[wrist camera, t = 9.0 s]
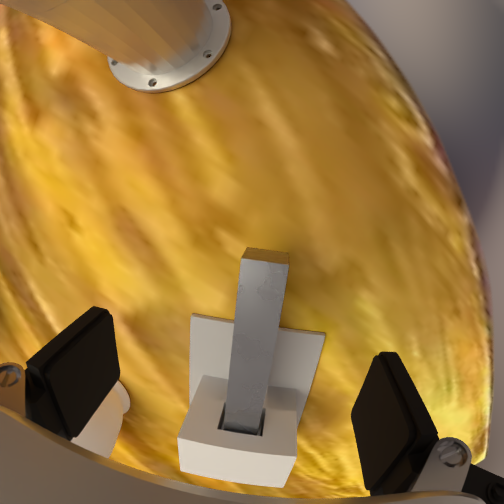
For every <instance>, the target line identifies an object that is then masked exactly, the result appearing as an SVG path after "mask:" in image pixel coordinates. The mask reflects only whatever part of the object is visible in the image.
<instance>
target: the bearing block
mask: <svg viewBox="0 0 504 504" xmlns="http://www.w3.org/2000/svg"><path fill="white" fill-rule="evenodd" d="M233 330H234V321H233V320H227V319H222V318H216V317H210V316H204V315H199V314H194V313H192V315H191V326H190V408H189V410H188V413H187V415H186V417H185V420H184V422H183V425H182V427H181V430H180V432H179V434H178V437H177V440H178V451H179V461H180V470H181V471H183V472H187V473H191V474H195V475H200V476H204V477H209V478H214V479H219V480H225V481H231V482H237V483H244V484H251V485H260V486H269V487H281V488H283V487H284V485H285V483H286V480H287V478H288V476H289V474H290V471H291V469H292V467H293V465H294V462H295V460H296V458H297V427H298V424H299V421H300V418H301V415H302V412H303V409H304V406H305V403H306V400H307V397H308V394H309V391H310V388H311V384H312V381H313V378H314V374H315V371H316V367H317V364H318V361H319V357H320V353H321V350H322V346H323V342H324V339H325V333H322V332H313V331H304V330H296V329H288V328H280V327H278V333H277V338H276V344H275V349H274V354H273V360H272V365H271V370H270V375H269V380H268V385H267V390H266V395H265V399H264V404H263V409H262V414H261V418H260V423H259V427H258V432H257V436H255V435H248V434H242V433H235V432H230V431H224V430H223V428H224V418H225V407H226V397H227V387H228V378H229V368H230V358H231V348H232V339H233Z"/></svg>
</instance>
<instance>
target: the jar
mask: <svg viewBox="0 0 504 504" xmlns="http://www.w3.org/2000/svg"><path fill="white" fill-rule="evenodd" d="M129 408H130V398H129V395H128V393H127V391H126V389H125V388H124V386H123V385H122V384H121V383H120V382H119V381H117V382H116V384H115V385H114V387H113V388H112V389H111V391H110V392H109V394H108V395H107V396H106V398H105V399H104V400H103V402H102V403H101V405H100V406H99V407H98V409H97V410H96V412H95V413H94V415H93V416H92V417H91V419H90V420H89V422H88V423H87V424H86V426H85V427H84V429H83V430H82V432H81V433H80V434H79V436H78V437H76V438H75V437H73V439H72V440H71V442H72V443H74V444H76V445H78V446H81V447H83V448H85V449H87V450H89V451H92V452H94V453H96V454H98V455H101V456H103V457H106V458H109V456H110V454H111V453H112V450H113V448H114V446H115V443H116V440H117V436H118V434H119V432H120V429H121V425H122V420H123V414H124V413H126V412H127V411H128V410H129Z"/></svg>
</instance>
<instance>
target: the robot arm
mask: <svg viewBox="0 0 504 504" xmlns="http://www.w3.org/2000/svg"><path fill="white" fill-rule="evenodd" d="M0 4H3V5H6V6H8V7H11V8H13V9H15V10H18V11H20V12H23V13H25V14H28V15H30V16H32V17H34V18H36V19H39V20H41V21H43V22H45V23H47V24H49V25H51V26H53V27H55V28H57V29H59V30H61V31H63V32H65V33H67V34H69V35H71V36H73V37H75V38H76V39H78V40H80V41H82V42H84V43H86V44H88V45H89V46H91V47H93V48H95V49H97V50H98V51H100V52H102V53H104V54H105V55H107V56H108V63H109V67H110V70H111V71H112V73H113V75H114V77H115V78H116V79H117V80H118V81H119V82H120V83H122V84H124V85H125V86H127V87H129V88H131V89H134V90H136V91H140V92H145V93H160V92H165V91H170V90H173V89H176V88H179V87H182V86H184V85H186V84H188V83H190V82H192V81H194V80H195V79H197V78H198V77H200V76H201V75H203V74H204V73H205V72H206V71H207V70H209V69H210V68H211V67H212V66H213V65H214V64H215V63H216V61H217V60H218V59H219V58H220V56H221V55H222V54H223V52H224V50H225V48H226V46H227V44H228V41H229V38H230V35H231V19H230V14H229V12H228V9H227V7H226V5H225V4H224V2H223V1H222V0H0ZM210 55H211V57H210V58H208V56H210ZM156 83H157V84H156ZM155 84H156V85H155ZM154 85H155V86H154ZM26 364H27V367H28V368H27V369H26V370H24V369H23V367H22V366H20V365H19V364H16V363H11V362H7V363H2V364H0V504H504V478H502V477H500V476H497V475H495V474H493V473H491V472H488V471H486V470H484V469H482V468H479V467H477V466H475V465H473V464H471V457H472V455H471V451H470V449H469V448H468V446H467V445H466V444H465V443H464V442H463V441H461V440H459V439H457V438H453V437H446V438H442V439H440V440H439V437H438V435H437V434H438V432H437V429H436V427H435V425H434V423H433V421H432V419H431V417H430V415H429V413H428V411H427V409H426V407H425V405H424V403H423V401H422V399H421V397H420V395H419V393H418V391H417V389H416V387H415V385H414V383H413V381H412V379H411V377H410V376H409V374H408V372H407V370H406V368H405V366H404V364H403V363H402V361H401V359H400V357H399V355H398V354H397V353H396V352H380V353H379V355H376V356H375V357H374V358H373V361H372V363H371V366H370V369H369V371H368V374H367V376H366V378H365V381H364V383H363V386H362V388H361V390H360V393H359V395H358V397H357V400H356V402H355V404H354V406H353V408H352V412H351V420H352V424H353V429H354V433H355V438H356V443H357V448H358V453H359V458H360V463H361V468H362V474H363V479H364V485H365V488H366V490H370V495H371V496H369V497H355V498H333V499H298V498H278V497H266V496H256V495H248V494H240V493H233V492H227V491H221V490H215V489H210V488H205V487H200V486H195V485H191V484H187V483H183V482H179V481H175V480H171V479H167V478H164V477H160V476H157V475H154V474H150V473H147V472H144V471H141V470H138V469H135V468H132V467H129V466H127V465H124V464H121V463H118V462H116V461H113V460H111V459H108V458H106V457H103V456H101V455H98V454H96V453H94V452H92V451H89V450H87V449H85V448H83V447H81V446H78V445H76V444H74V443H72V442H71V440H72V439H73V437H75V438H76V437H78V436H79V434H80V433H81V432H82V430H83V429H84V427H85V426H86V424H87V423H88V422H89V420H90V419H91V417H92V416H93V415H94V413H95V412H96V410H97V409H98V407H99V406H100V405H101V403H102V402H103V400H104V399H105V398H106V396H107V395H108V394H109V392H110V391H111V389H112V388H113V387H114V385H115V384H116V382H117V381H118V379H119V377H120V367H119V361H118V354H117V347H116V340H115V332H114V323H113V317H112V315H111V314H110V313H109V311H108V310H107V309H103V308H99V307H96V306H93V307H91V308H90V309H89V310H88V311H86V312H85V313H84V314H83V315H81V316H80V317H79V318H78V319H76V320H75V321H74V322H73V323H72V324H70V325H69V326H68V327H67V328H65V329H64V330H63V331H62V332H61V333H59V334H58V335H57V336H56V337H55V338H53V339H52V340H51V341H50V342H49V343H48V344H46V345H45V346H44V347H43V348H42V349H41V350H39V351H38V352H37V353H36V354H35V355H34V356H32V357H31V358H30V359H29V360H28V361H27V362H26Z"/></svg>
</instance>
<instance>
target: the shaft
mask: <svg viewBox="0 0 504 504" xmlns="http://www.w3.org/2000/svg"><path fill="white" fill-rule="evenodd" d="M288 269H289V254H288V253H285V252H278V251H271V250H264V249H257V248H250V247H247V248H246V250H245V252H244V254H243V256H242V258H241V265H240V274H239V283H238V292H237V302H236V311H235V320H234V330H233V339H232V348H231V358H230V368H229V378H228V387H227V397H226V407H225V418H224V428H223V430H224V431H230V432H235V433H242V434H248V435H255V436H257V432H258V427H259V423H260V418H261V414H262V409H263V404H264V399H265V395H266V390H267V385H268V380H269V375H270V370H271V365H272V360H273V354H274V349H275V344H276V338H277V333H278V327H279V322H280V316H281V311H282V305H283V299H284V293H285V287H286V281H287V275H288Z"/></svg>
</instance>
